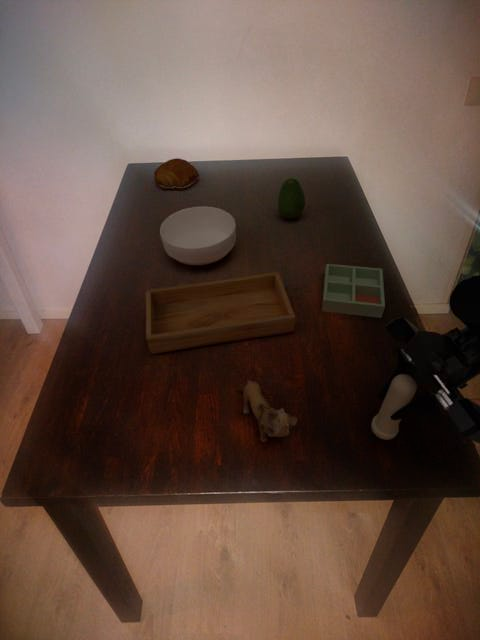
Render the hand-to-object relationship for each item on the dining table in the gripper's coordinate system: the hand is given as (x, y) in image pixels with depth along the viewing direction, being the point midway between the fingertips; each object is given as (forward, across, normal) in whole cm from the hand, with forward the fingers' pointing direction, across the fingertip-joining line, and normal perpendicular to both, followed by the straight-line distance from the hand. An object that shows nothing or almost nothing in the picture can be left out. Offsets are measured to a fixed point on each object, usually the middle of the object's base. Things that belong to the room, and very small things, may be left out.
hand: (385, 408), depth 56 cm
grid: (-1, -35, +19) cm, 40 cm away
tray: (+22, -36, -4) cm, 42 cm away
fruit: (+1, -72, +17) cm, 74 cm away
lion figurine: (+20, -10, -2) cm, 22 cm away
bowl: (+21, -63, -3) cm, 66 cm away
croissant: (+21, -106, -3) cm, 108 cm away
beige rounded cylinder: (+4, 0, +6) cm, 7 cm away
